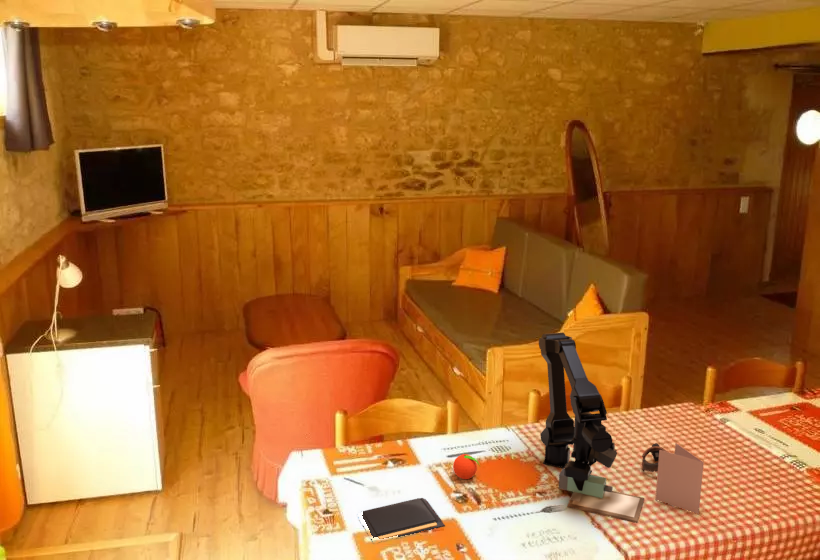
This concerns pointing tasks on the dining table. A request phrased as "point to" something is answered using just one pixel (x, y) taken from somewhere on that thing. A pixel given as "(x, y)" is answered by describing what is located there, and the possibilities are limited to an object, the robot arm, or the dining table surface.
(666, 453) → the greeting card
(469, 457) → the clementine
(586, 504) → the clipboard
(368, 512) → the black notebook
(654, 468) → the pottery mug
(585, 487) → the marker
